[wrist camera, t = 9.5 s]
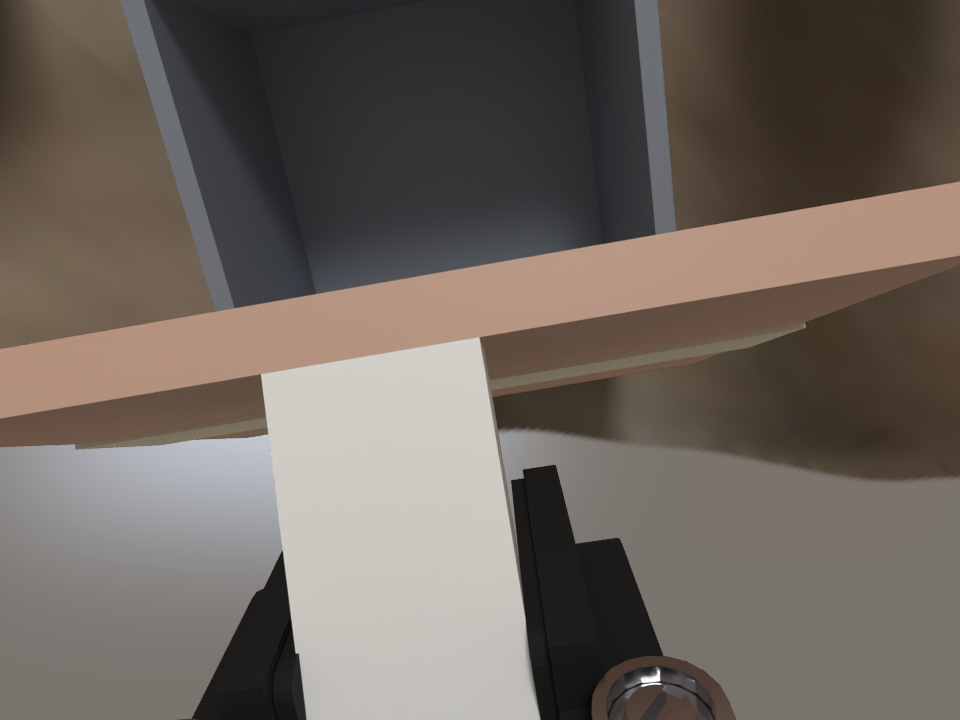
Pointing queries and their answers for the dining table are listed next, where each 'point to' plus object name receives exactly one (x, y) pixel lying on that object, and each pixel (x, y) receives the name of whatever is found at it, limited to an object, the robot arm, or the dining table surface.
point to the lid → (447, 418)
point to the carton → (403, 134)
